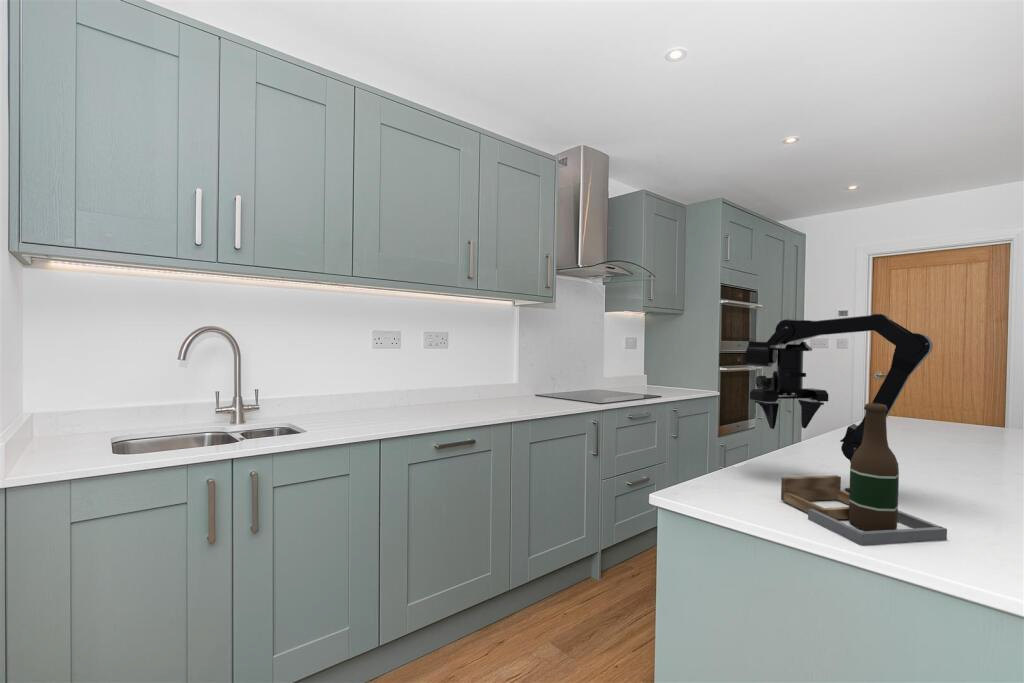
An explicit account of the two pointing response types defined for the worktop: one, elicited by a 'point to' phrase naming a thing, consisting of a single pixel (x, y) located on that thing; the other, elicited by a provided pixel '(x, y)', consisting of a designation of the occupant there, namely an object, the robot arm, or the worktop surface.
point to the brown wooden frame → (815, 494)
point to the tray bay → (918, 533)
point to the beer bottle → (874, 476)
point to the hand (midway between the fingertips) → (788, 428)
